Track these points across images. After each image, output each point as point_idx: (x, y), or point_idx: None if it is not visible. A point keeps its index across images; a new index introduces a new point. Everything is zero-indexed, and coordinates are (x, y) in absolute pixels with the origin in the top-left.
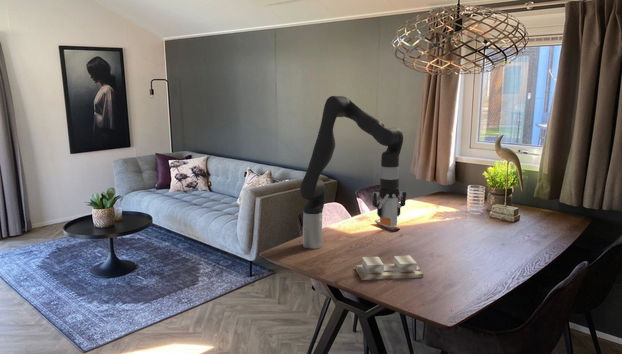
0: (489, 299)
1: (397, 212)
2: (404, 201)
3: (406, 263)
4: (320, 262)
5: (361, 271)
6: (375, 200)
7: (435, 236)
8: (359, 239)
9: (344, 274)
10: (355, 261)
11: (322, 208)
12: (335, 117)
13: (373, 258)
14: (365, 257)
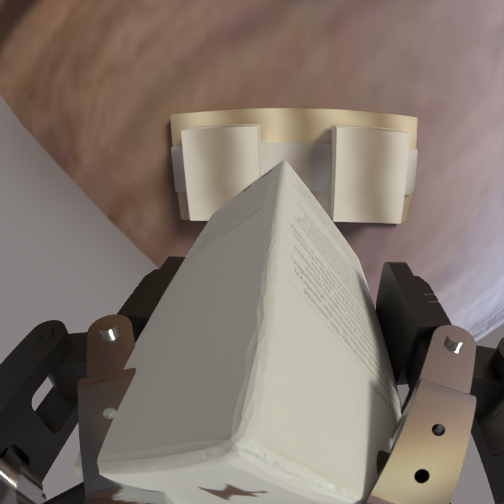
0: None
1: (386, 343)
2: (499, 446)
3: (359, 220)
4: (69, 71)
5: (181, 191)
6: (44, 447)
7: None
8: None
9: (133, 168)
10: (186, 45)
11: None
12: None
13: (229, 148)
14: (194, 134)
